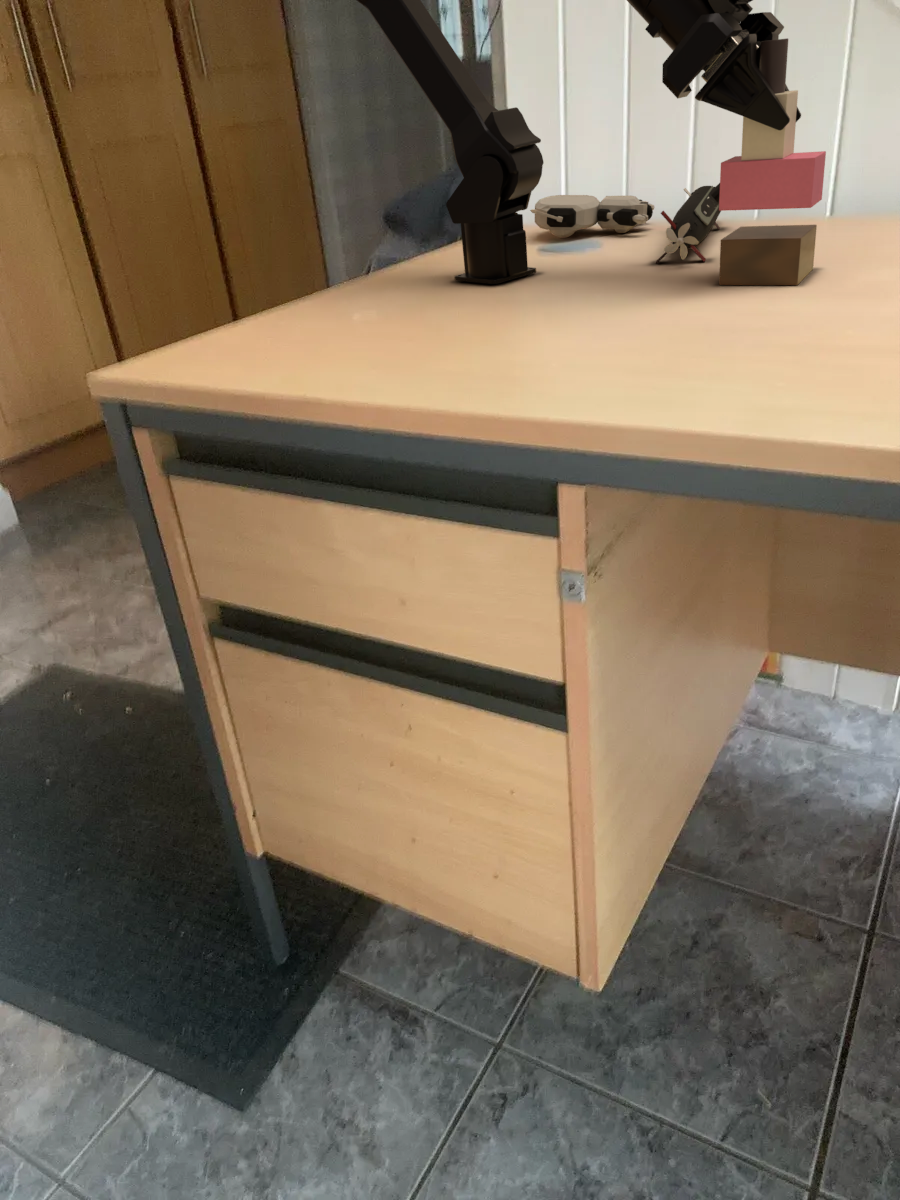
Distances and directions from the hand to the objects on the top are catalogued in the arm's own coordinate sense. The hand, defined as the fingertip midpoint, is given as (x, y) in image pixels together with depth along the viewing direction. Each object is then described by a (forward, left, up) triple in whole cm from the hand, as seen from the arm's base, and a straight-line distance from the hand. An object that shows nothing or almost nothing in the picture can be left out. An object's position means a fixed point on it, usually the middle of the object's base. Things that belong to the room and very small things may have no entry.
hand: (791, 123), depth 81 cm
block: (-1, 0, -13) cm, 13 cm away
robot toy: (-36, +17, -13) cm, 42 cm away
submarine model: (-18, +15, -13) cm, 27 cm away
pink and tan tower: (-1, 0, -7) cm, 7 cm away
